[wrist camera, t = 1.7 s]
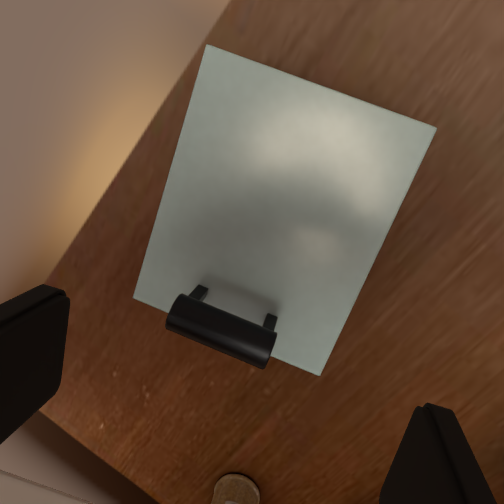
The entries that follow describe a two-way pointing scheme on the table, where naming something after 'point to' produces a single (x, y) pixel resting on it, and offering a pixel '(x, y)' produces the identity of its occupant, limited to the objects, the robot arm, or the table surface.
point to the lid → (274, 211)
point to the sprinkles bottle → (235, 490)
